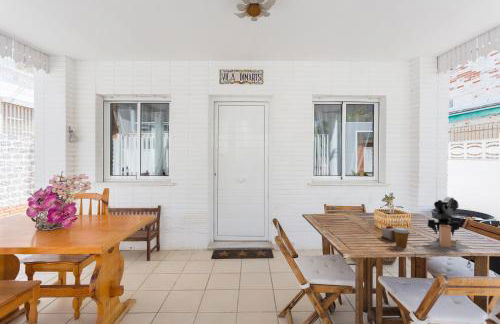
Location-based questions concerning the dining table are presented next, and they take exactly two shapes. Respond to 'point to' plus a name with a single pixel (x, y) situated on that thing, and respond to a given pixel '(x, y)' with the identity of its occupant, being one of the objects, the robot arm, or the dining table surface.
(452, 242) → the beige wooden cube
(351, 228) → the dining table surface
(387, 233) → the food item
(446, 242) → the tan tall block
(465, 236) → the dining table surface
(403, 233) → the disposable coffee cup
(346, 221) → the dining table surface
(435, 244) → the mat
